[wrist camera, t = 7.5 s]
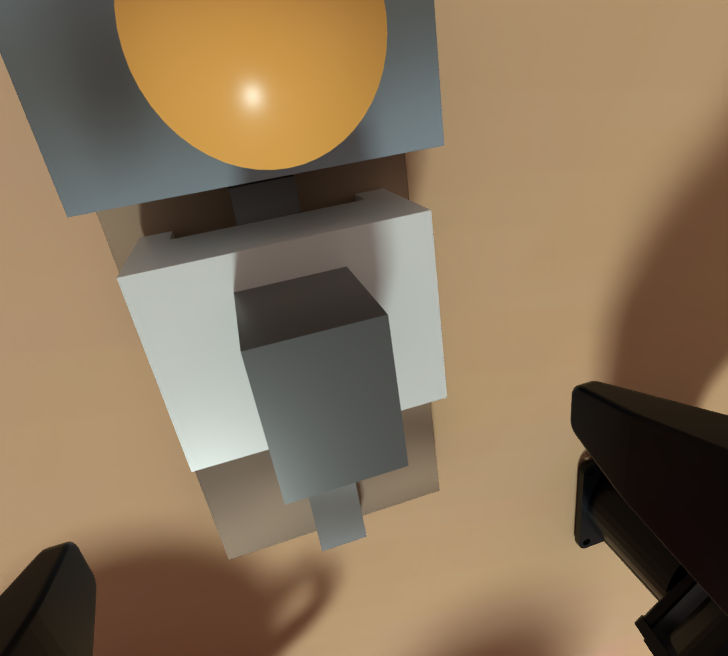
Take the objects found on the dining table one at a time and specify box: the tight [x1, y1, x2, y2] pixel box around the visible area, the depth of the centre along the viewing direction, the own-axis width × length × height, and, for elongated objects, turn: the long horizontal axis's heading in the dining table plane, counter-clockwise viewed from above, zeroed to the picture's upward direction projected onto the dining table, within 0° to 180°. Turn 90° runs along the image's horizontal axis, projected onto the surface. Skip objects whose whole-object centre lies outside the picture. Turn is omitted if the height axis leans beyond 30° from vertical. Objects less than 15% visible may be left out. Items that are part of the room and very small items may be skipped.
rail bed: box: [0, 0, 444, 559], centre depth 17 cm, size 21×10×6 cm, turn 8°
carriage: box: [117, 188, 447, 505], centre depth 14 cm, size 6×8×8 cm
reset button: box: [114, 0, 387, 170], centre depth 8 cm, size 4×4×2 cm
